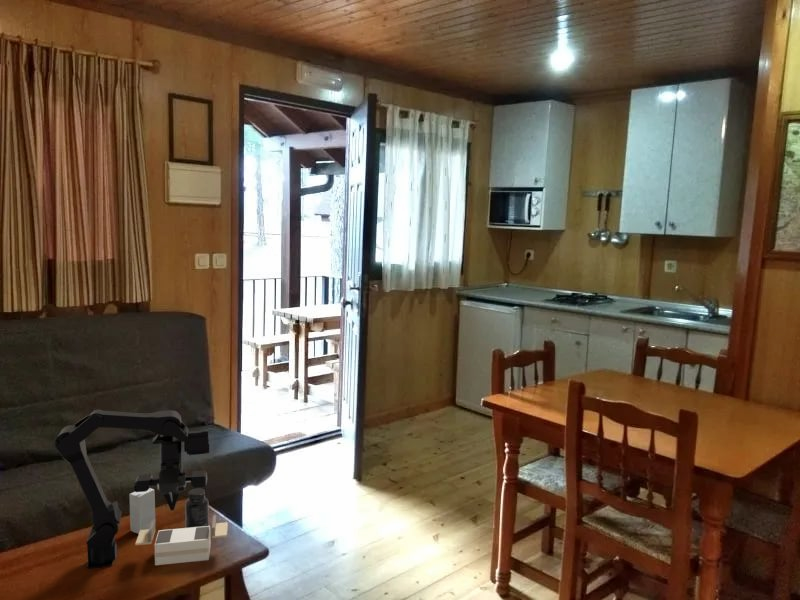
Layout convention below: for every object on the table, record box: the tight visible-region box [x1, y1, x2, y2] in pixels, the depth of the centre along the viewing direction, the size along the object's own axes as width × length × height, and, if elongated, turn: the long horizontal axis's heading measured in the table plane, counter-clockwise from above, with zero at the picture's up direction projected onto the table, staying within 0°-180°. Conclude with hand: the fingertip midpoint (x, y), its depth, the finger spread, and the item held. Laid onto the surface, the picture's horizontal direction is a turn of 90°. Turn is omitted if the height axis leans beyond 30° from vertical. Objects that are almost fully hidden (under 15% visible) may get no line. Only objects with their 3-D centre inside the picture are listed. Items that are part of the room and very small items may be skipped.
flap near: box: [134, 519, 156, 546], centre depth 170 cm, size 4×8×3 cm, turn 14°
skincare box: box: [128, 487, 156, 535], centre depth 187 cm, size 6×4×12 cm
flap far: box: [211, 514, 229, 539], centre depth 175 cm, size 4×8×3 cm, turn 14°
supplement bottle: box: [184, 487, 210, 528], centre depth 188 cm, size 7×7×12 cm
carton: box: [154, 525, 211, 566], centre depth 173 cm, size 14×8×6 cm, turn 104°
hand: (172, 509), depth 174 cm, fingers closed
